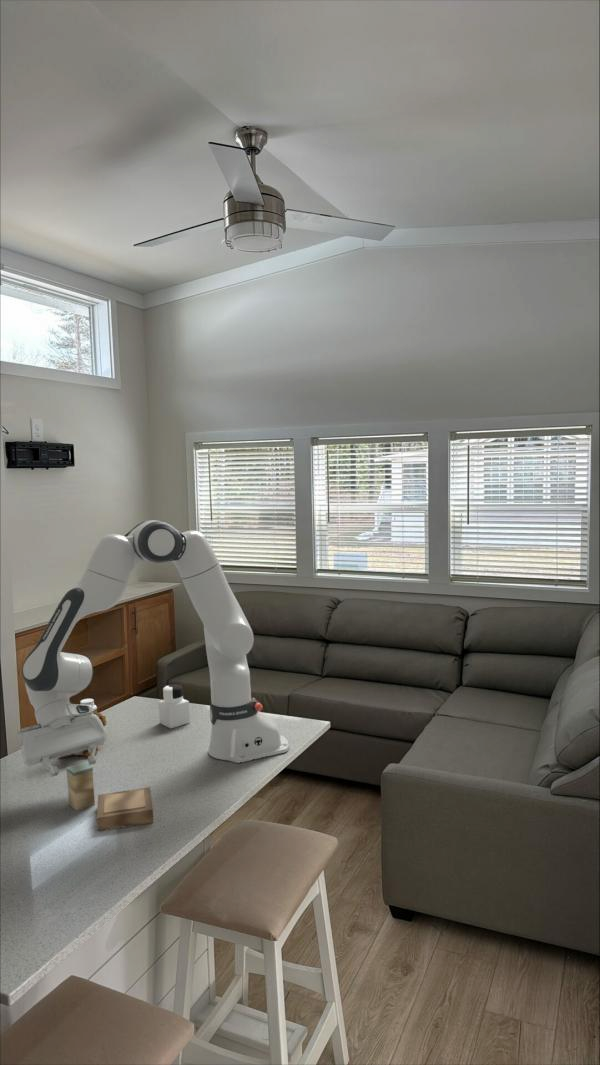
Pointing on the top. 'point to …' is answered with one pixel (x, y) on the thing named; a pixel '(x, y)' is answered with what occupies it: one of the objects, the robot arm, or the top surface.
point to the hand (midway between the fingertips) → (74, 769)
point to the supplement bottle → (89, 703)
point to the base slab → (124, 808)
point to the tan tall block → (80, 785)
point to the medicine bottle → (174, 707)
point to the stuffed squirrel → (87, 753)
